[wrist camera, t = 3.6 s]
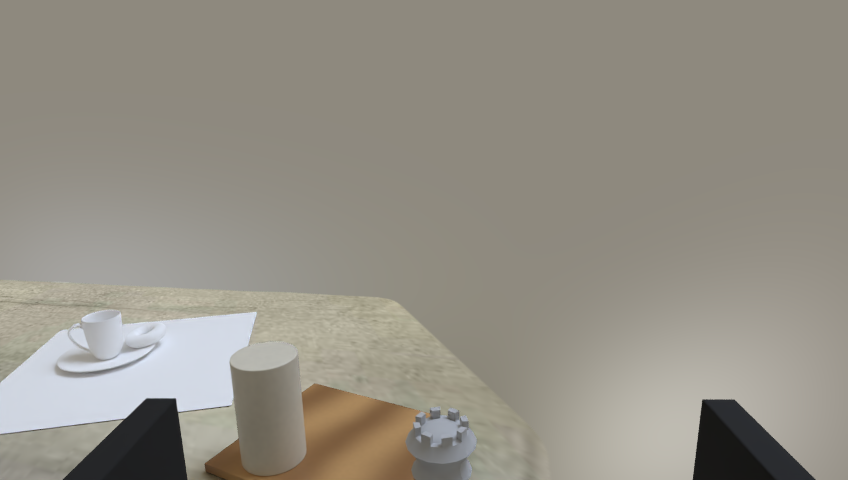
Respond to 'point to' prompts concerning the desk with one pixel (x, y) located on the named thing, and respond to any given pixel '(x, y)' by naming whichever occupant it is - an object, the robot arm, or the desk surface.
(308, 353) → the desk surface
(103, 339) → the teacup and saucer
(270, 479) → the brown square board
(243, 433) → the ivory piece
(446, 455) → the rook chess piece
